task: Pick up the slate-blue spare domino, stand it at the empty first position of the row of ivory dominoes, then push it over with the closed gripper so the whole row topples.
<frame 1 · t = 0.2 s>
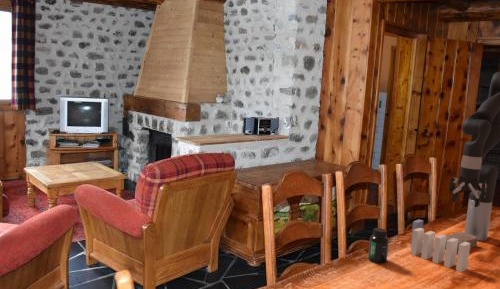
hand: (465, 204, 190), 17 cm above the table, tool pointing down, fingers open, 8 cm apart
tile 2: (416, 253, 179), on the table
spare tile: (415, 243, 190), on the table
tile 6: (461, 269, 166), on the table
tile 3: (426, 257, 176), on the table
supplement bottle: (377, 260, 171), on the table
tile 4: (437, 261, 173), on the table
tile 5: (449, 265, 170), on the table
brick: (456, 247, 189), on the table
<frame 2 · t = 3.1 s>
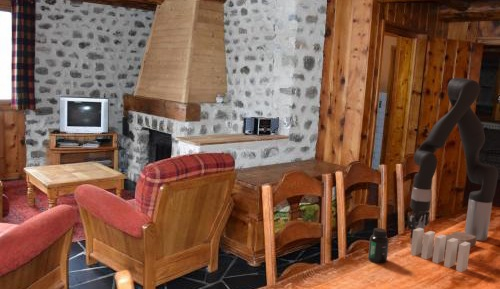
hand: (416, 237, 190), 3 cm above the table, tool pointing down, fingers closed on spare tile, 5 cm apart
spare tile: (415, 243, 190), on the table, touching gripper
everything else where it was.
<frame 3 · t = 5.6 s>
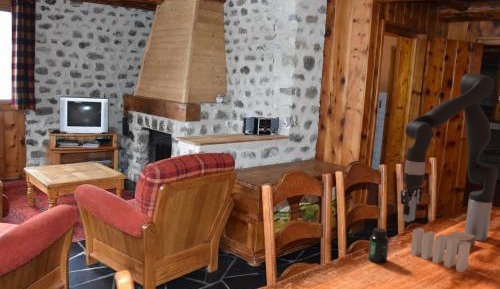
hand: (409, 213, 180), 15 cm above the table, tool pointing down, fingers closed on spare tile, 5 cm apart
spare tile: (408, 220, 181), point 12 cm above the table, touching gripper
everything else where it was.
when the fingers open (4 cm above the table, at t = 8.1 s): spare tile stays where it is, on the table.
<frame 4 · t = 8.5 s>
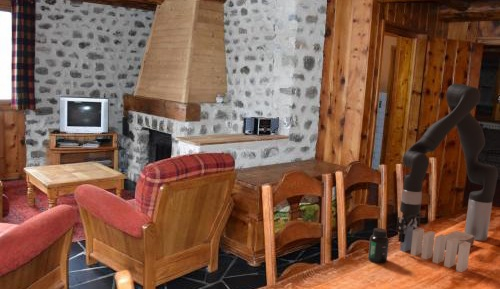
hand: (406, 239, 182), 4 cm above the table, tool pointing down, fingers open, 8 cm apart
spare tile: (405, 249, 183), on the table
everything else where it was.
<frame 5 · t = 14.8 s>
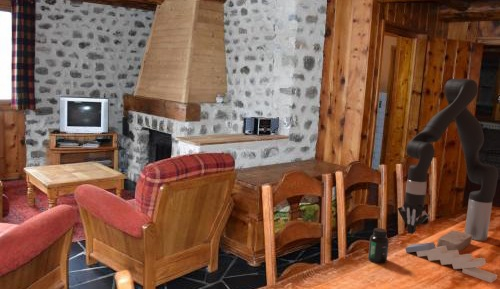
hand: (411, 233, 180), 8 cm above the table, tool pointing down, fingers closed
tile 2: (420, 252, 178), point 1 cm above the table, tilted 65°, touching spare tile, tile 3
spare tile: (409, 248, 182), point 1 cm above the table, tilted 65°, touching tile 2
tile 6: (465, 269, 165), point 1 cm above the table, tilted 90°
tile 3: (431, 256, 175), point 1 cm above the table, tilted 65°, touching tile 2, tile 4
tile 4: (443, 260, 171), point 1 cm above the table, tilted 64°, touching tile 3, tile 5
tile 5: (455, 264, 168), point 1 cm above the table, tilted 65°, touching tile 4
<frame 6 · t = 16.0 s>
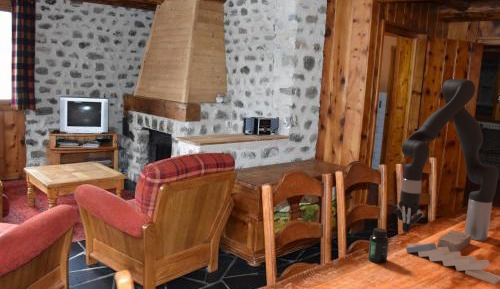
hand: (406, 231, 182), 8 cm above the table, tool pointing down, fingers closed
tile 6: (468, 270, 164), on the table, tilted 90°, touching tile 5
tile 4: (446, 261, 170), point 1 cm above the table, tilted 65°, touching tile 3, tile 5
tile 5: (458, 266, 167), point 1 cm above the table, tilted 66°, touching tile 4, tile 6
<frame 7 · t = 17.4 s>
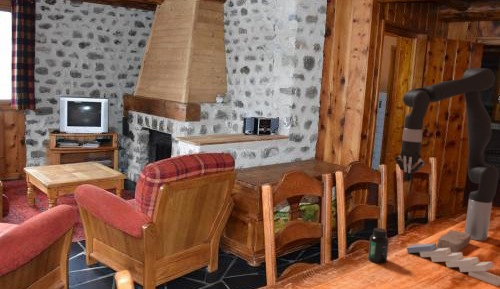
hand: (407, 181, 185), 27 cm above the table, tool pointing down, fingers closed
tile 6: (471, 272, 163), on the table, tilted 90°, touching tile 5
tile 4: (449, 263, 169), point 1 cm above the table, tilted 64°, touching tile 3
tile 5: (463, 267, 165), point 1 cm above the table, tilted 65°, touching tile 6
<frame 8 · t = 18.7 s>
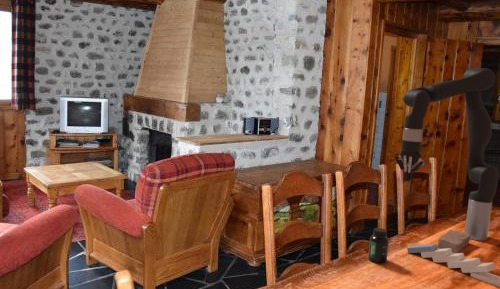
hand: (407, 180, 185), 27 cm above the table, tool pointing down, fingers closed
tile 4: (451, 264, 168), point 1 cm above the table, tilted 65°, touching tile 3, tile 5
tile 5: (465, 268, 164), point 1 cm above the table, tilted 65°, touching tile 4, tile 6
at the end: tile 6 tilted 90°; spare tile tilted 68°; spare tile inside the target area (0.5 cm from its centre), point 0.9 cm above the table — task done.
